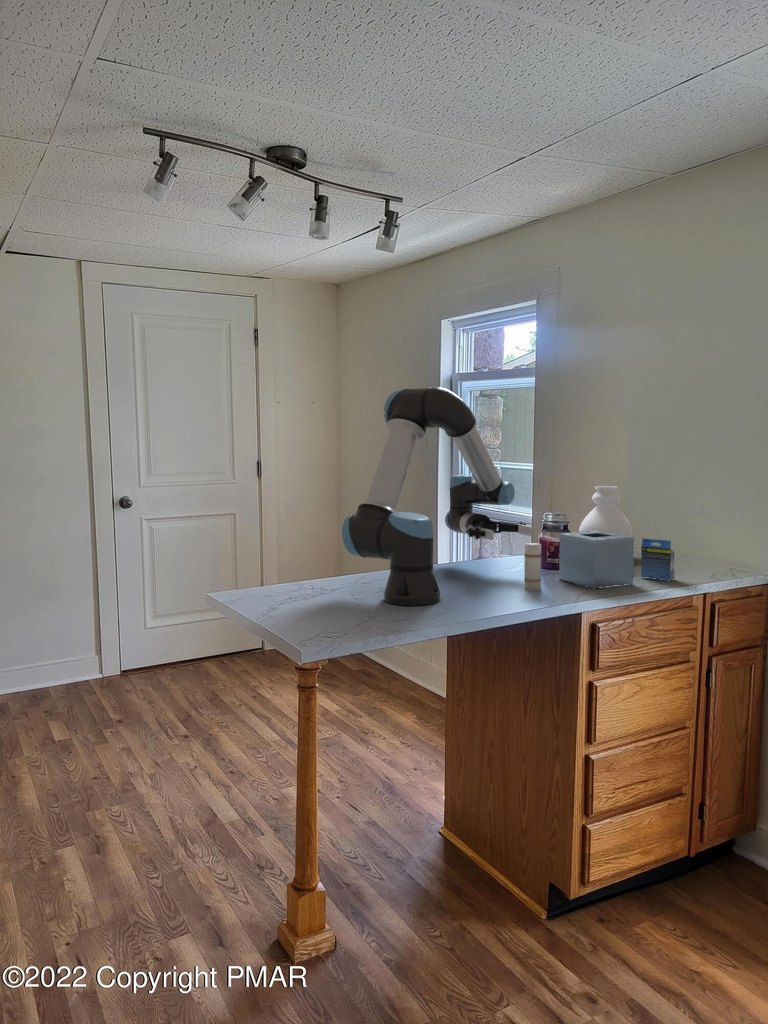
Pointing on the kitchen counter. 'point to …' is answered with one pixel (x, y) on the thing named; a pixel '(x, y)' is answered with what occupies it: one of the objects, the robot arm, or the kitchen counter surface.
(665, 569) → the label tape box
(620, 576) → the grey box with opening
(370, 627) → the kitchen counter surface
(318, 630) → the kitchen counter surface
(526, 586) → the coin roll
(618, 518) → the decorative vase
